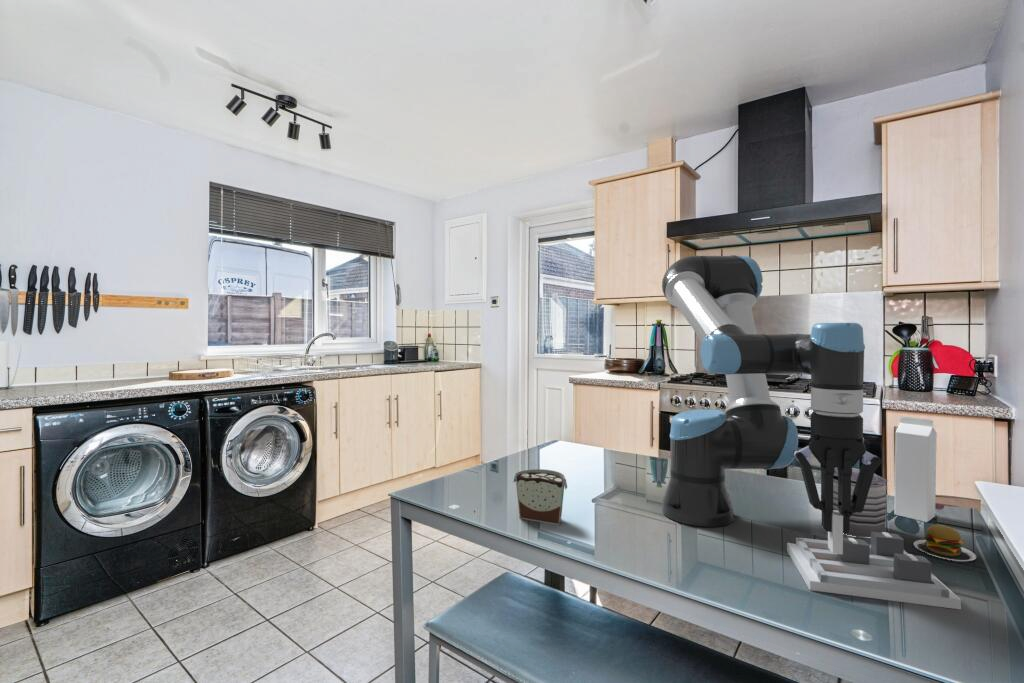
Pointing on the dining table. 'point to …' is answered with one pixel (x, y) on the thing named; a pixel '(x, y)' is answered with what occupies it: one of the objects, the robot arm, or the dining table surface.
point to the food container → (540, 495)
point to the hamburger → (944, 542)
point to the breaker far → (886, 544)
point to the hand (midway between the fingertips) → (835, 550)
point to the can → (866, 506)
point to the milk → (915, 469)
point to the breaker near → (912, 568)
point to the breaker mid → (854, 551)
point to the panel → (864, 577)
